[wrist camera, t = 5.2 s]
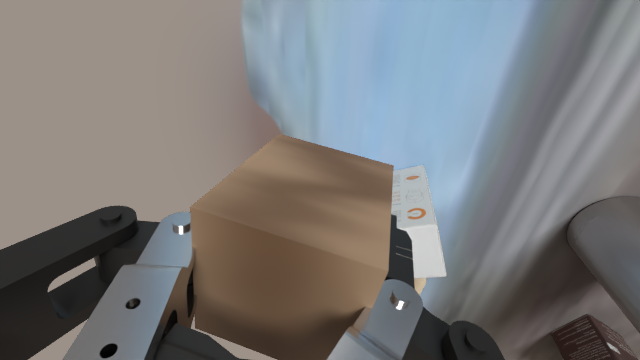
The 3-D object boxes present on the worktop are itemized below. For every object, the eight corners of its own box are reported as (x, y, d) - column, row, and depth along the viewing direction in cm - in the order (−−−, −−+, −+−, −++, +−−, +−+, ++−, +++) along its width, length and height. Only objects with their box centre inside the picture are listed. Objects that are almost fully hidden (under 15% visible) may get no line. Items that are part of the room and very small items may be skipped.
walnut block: (393, 165, 12) (388, 271, 6) (361, 254, 14) (339, 383, 9) (278, 133, 12) (190, 207, 7) (267, 224, 15) (195, 327, 10)
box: (621, 335, 40) (663, 391, 34) (580, 352, 43) (611, 407, 37) (587, 312, 40) (623, 365, 34) (548, 331, 43) (574, 383, 37)
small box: (373, 214, 41) (364, 283, 30) (362, 175, 39) (347, 234, 27) (433, 206, 38) (448, 278, 27) (425, 163, 36) (436, 223, 25)
